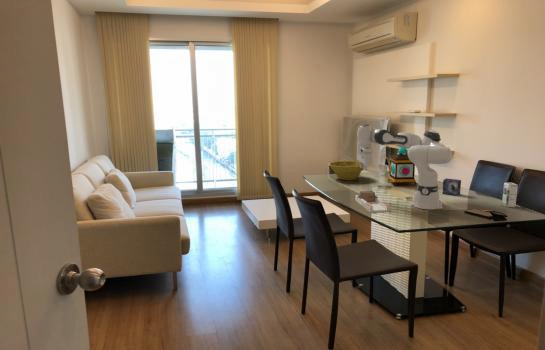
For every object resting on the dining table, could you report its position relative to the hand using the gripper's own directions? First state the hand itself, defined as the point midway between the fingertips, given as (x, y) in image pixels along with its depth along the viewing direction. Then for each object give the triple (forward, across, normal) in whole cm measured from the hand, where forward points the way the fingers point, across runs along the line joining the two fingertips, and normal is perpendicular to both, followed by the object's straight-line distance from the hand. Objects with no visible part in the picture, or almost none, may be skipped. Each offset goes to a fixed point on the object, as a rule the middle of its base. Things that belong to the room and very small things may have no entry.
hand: (363, 168), depth 267 cm
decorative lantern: (+21, -40, +45) cm, 64 cm away
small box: (+22, -1, +65) cm, 68 cm away
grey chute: (+21, +18, 0) cm, 27 cm away
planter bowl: (+21, -68, +9) cm, 72 cm away
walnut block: (+20, +10, 0) cm, 22 cm away
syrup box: (+22, +34, +83) cm, 92 cm away
